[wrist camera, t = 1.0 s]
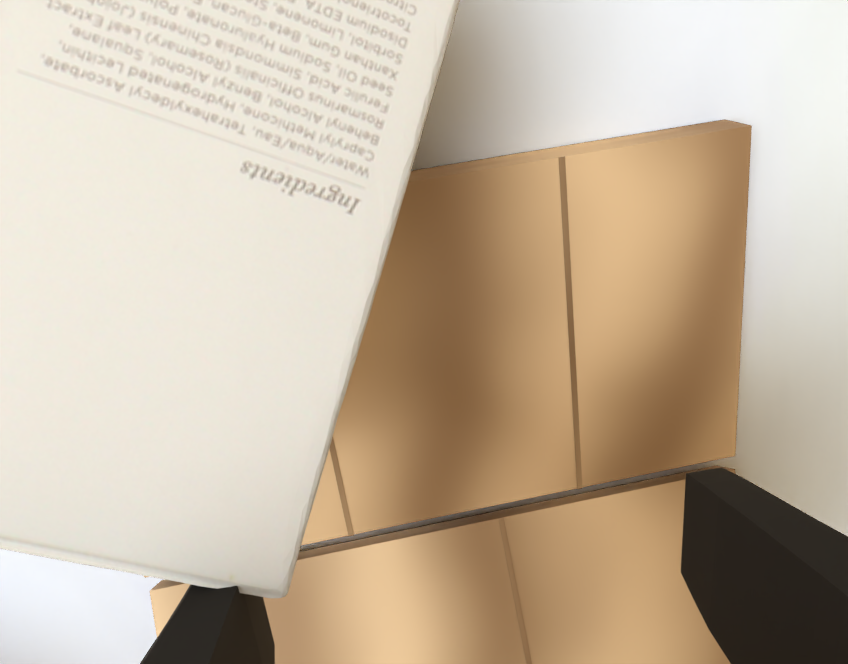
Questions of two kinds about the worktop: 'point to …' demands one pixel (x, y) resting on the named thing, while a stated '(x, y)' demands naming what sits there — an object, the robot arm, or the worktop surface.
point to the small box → (193, 266)
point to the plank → (500, 589)
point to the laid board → (546, 329)
